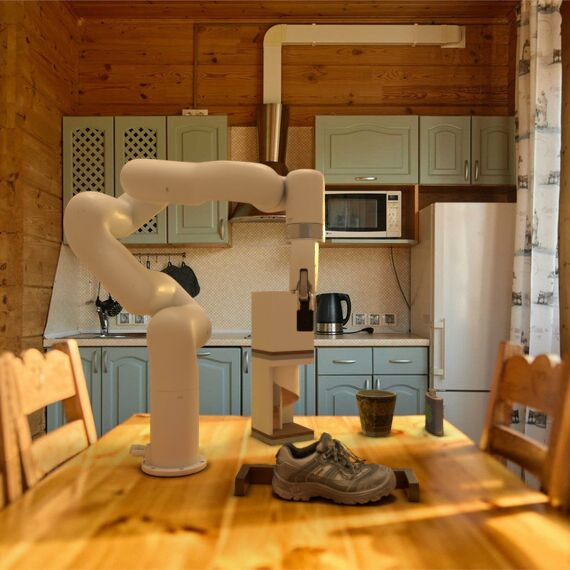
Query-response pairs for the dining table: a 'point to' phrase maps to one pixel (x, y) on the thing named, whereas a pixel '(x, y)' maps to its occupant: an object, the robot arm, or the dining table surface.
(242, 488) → the bracket
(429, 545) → the dining table surface
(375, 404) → the ceramic cup
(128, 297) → the robot arm
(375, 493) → the hiking shoe
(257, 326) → the cream pedestal stand
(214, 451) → the dining table surface
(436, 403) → the flask
